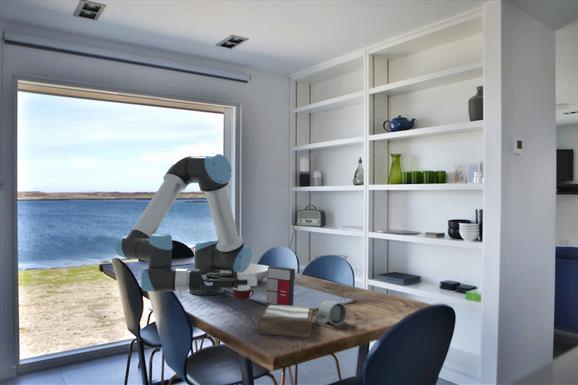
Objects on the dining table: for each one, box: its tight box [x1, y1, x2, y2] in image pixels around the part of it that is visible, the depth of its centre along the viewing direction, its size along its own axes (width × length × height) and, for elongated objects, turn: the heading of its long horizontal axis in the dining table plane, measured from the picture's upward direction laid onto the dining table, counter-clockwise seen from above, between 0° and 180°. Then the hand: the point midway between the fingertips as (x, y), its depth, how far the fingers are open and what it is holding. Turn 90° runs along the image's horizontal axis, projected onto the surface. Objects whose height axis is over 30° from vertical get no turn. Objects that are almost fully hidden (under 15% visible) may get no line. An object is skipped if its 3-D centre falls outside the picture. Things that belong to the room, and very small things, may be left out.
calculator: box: [266, 265, 296, 306], centre depth 168 cm, size 11×4×15 cm, turn 62°
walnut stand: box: [259, 304, 313, 338], centre depth 138 cm, size 16×16×6 cm
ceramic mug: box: [313, 299, 348, 326], centre depth 146 cm, size 11×8×8 cm
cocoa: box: [229, 263, 255, 301], centre depth 145 cm, size 10×6×12 cm, turn 48°
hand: (256, 279), depth 146 cm, fingers closed on cocoa, 6 cm apart
